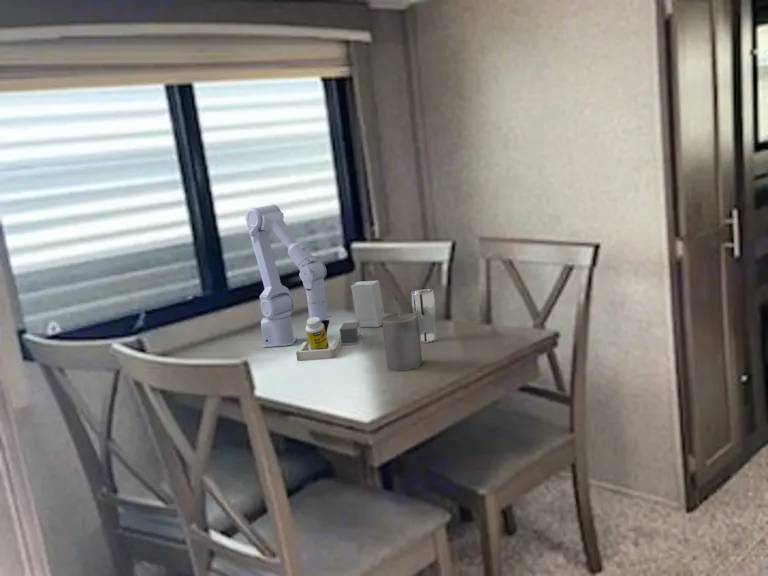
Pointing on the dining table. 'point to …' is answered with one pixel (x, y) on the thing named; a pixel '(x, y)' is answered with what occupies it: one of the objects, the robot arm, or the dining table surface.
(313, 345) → the supplement bottle
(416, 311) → the beer glass
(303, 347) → the tray
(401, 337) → the pillar candle
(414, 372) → the dining table surface
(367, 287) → the skincare box
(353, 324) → the box
